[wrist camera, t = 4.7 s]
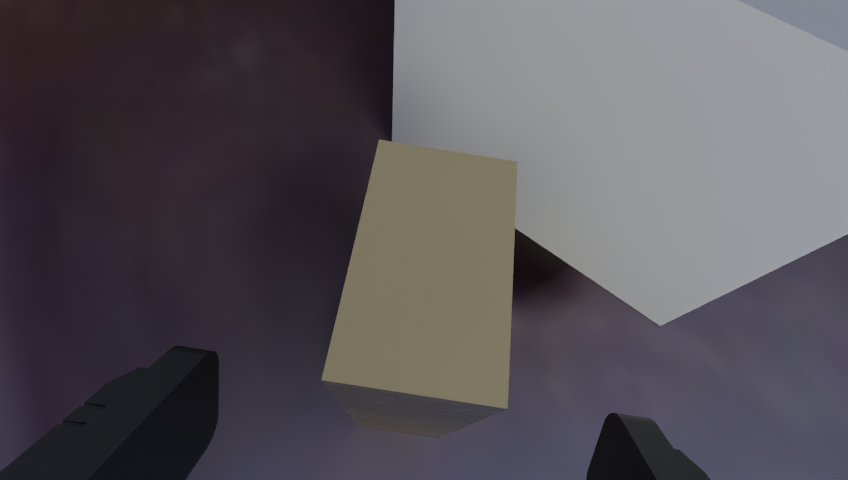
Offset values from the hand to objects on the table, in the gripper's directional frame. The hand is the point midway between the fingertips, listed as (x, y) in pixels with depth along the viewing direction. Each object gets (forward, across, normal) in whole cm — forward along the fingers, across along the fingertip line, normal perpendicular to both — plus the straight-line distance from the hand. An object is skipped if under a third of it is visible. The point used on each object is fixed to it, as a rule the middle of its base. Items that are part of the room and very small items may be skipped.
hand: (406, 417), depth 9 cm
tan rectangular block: (+7, 0, +4) cm, 8 cm away
